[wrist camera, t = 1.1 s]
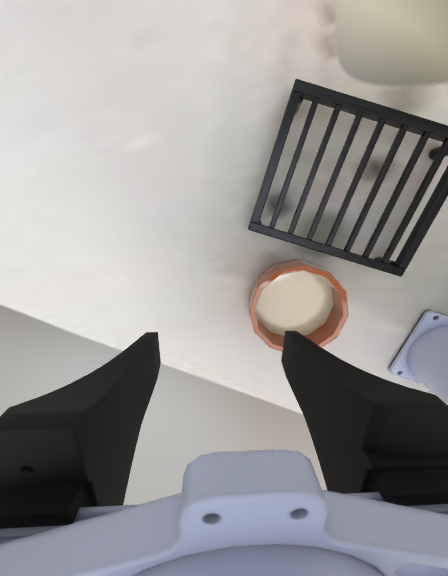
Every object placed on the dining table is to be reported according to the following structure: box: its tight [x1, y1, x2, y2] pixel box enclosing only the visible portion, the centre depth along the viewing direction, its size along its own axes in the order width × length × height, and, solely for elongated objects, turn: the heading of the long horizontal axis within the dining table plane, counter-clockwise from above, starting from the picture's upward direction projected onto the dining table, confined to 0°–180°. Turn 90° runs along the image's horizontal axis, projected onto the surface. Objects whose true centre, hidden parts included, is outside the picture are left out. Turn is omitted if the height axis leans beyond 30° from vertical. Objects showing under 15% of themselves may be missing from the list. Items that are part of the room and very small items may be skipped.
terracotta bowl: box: [249, 259, 348, 351], centre depth 23 cm, size 9×9×3 cm
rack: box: [248, 79, 448, 277], centre depth 20 cm, size 14×11×3 cm
